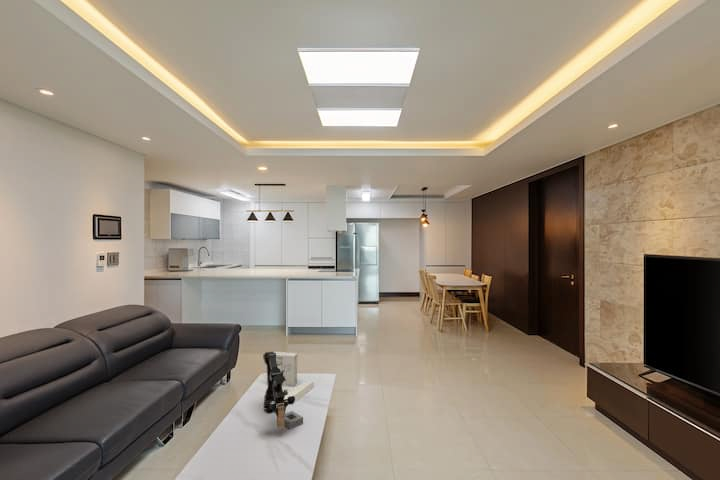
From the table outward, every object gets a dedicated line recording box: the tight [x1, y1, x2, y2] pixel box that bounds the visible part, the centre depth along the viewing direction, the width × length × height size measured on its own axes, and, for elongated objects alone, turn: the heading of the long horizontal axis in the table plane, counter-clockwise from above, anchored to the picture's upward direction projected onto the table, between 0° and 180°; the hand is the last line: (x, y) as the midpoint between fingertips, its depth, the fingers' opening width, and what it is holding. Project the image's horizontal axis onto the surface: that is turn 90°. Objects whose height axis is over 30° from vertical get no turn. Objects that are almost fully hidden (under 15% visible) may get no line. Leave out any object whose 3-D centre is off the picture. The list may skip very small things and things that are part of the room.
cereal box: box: [273, 351, 298, 388], centre depth 288 cm, size 22×8×25 cm, turn 81°
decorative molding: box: [284, 381, 315, 406], centre depth 268 cm, size 34×5×10 cm
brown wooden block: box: [276, 403, 286, 430], centre depth 211 cm, size 5×4×12 cm
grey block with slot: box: [284, 410, 304, 430], centre depth 225 cm, size 12×10×4 cm
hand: (281, 416), depth 210 cm, fingers closed on brown wooden block, 3 cm apart
